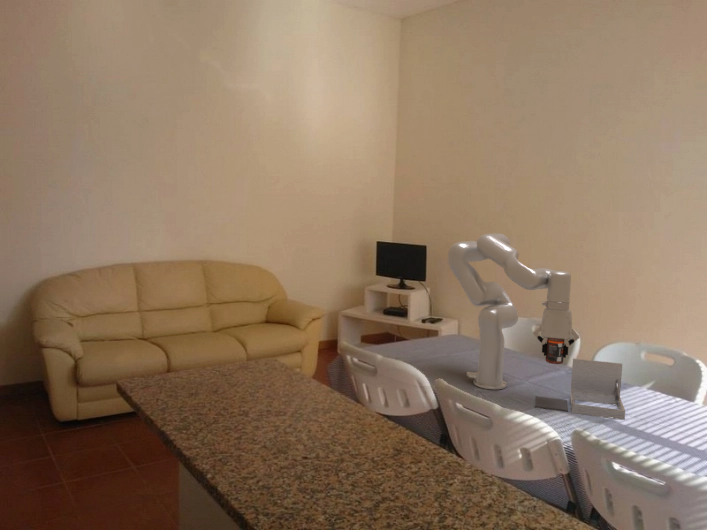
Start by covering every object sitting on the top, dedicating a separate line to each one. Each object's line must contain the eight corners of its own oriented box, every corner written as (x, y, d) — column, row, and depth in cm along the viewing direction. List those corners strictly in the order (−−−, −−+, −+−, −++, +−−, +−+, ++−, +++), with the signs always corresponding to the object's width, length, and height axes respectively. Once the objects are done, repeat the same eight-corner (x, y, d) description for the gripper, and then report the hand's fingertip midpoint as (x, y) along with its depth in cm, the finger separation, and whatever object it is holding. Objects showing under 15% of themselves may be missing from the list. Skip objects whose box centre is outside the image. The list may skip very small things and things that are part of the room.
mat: (534, 407, 200) (535, 405, 200) (535, 397, 210) (535, 396, 210) (568, 411, 196) (568, 410, 196) (567, 401, 207) (567, 400, 207)
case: (571, 412, 196) (574, 370, 194) (570, 396, 212) (572, 357, 210) (624, 419, 190) (628, 376, 189) (618, 402, 207) (621, 362, 205)
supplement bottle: (564, 365, 198) (566, 333, 197) (546, 364, 199) (548, 332, 198) (561, 360, 204) (563, 329, 203) (544, 359, 205) (546, 328, 204)
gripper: (531, 305, 199) (528, 355, 201) (584, 309, 193) (581, 361, 195) (532, 302, 206) (529, 350, 208) (583, 306, 200) (580, 355, 202)
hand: (554, 355), depth 201 cm, fingers closed on supplement bottle, 6 cm apart
